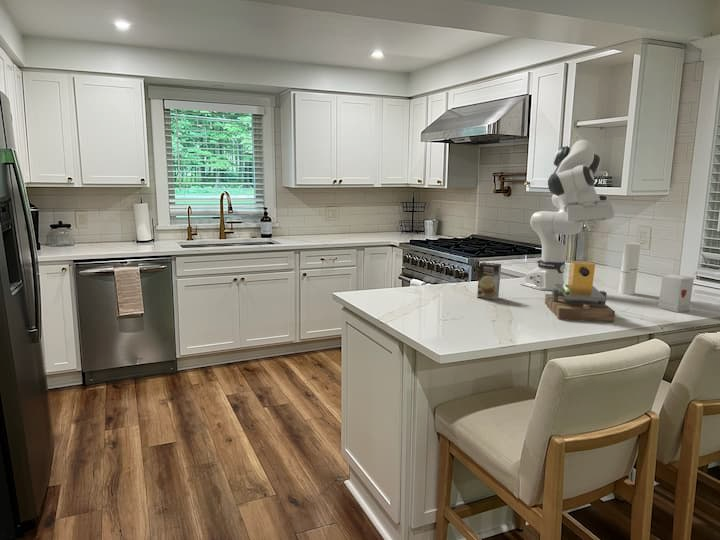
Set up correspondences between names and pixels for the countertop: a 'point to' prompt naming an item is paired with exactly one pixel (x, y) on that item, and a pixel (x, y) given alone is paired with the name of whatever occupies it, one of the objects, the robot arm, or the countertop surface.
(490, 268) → the coffee box
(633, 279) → the cylindrical container
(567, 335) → the countertop surface
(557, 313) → the tribrach stand
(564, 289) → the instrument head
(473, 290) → the countertop surface
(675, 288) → the supplement box
